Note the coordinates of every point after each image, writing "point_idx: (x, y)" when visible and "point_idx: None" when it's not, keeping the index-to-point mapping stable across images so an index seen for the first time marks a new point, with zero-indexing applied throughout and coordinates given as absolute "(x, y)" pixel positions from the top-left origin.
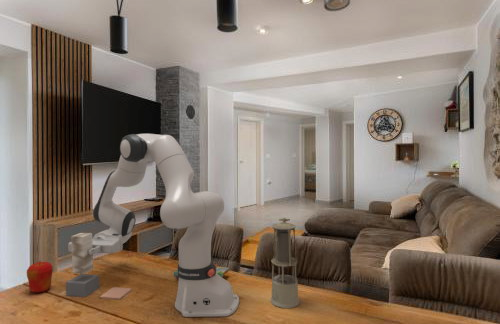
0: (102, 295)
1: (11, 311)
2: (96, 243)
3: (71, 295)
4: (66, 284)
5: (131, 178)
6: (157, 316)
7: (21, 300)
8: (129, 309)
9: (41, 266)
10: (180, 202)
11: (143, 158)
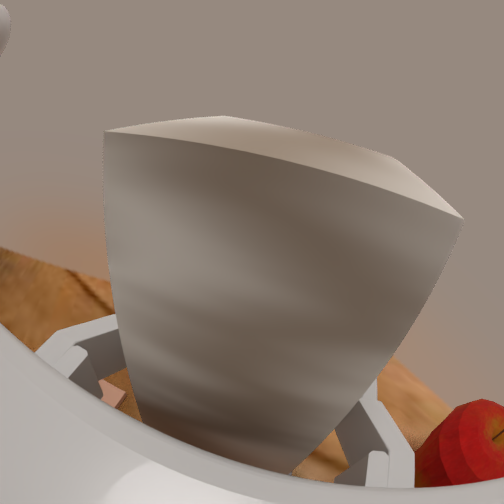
0: (116, 397)
1: (386, 364)
2: (64, 411)
3: None
4: None
5: None
6: (22, 262)
7: (418, 419)
8: (54, 300)
9: (476, 416)
10: None
11: None
